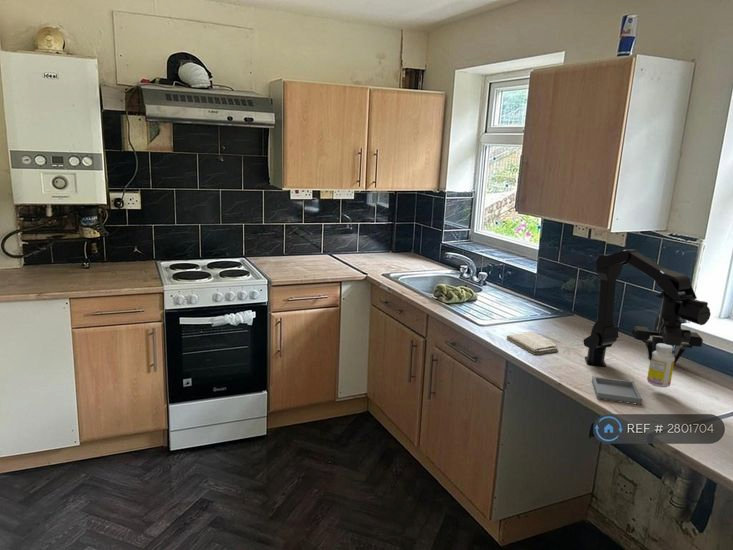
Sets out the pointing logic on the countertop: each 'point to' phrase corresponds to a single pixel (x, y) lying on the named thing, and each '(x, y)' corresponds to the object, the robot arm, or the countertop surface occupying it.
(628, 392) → the tray
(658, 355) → the supplement bottle
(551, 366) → the countertop surface
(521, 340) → the washcloth
